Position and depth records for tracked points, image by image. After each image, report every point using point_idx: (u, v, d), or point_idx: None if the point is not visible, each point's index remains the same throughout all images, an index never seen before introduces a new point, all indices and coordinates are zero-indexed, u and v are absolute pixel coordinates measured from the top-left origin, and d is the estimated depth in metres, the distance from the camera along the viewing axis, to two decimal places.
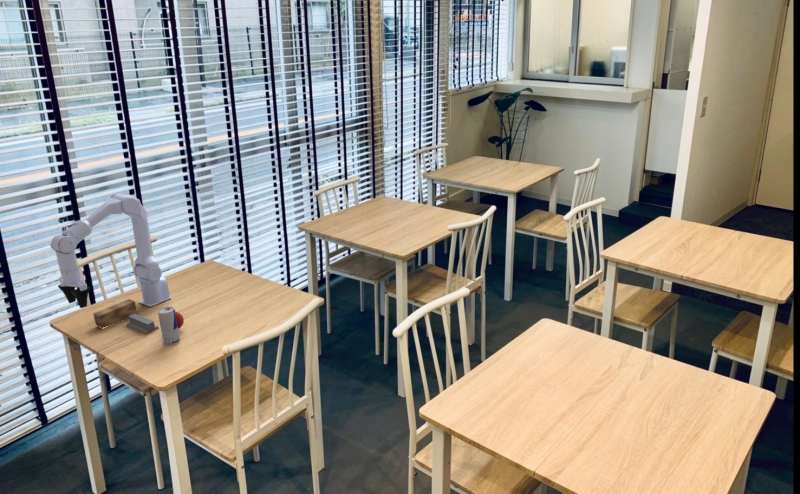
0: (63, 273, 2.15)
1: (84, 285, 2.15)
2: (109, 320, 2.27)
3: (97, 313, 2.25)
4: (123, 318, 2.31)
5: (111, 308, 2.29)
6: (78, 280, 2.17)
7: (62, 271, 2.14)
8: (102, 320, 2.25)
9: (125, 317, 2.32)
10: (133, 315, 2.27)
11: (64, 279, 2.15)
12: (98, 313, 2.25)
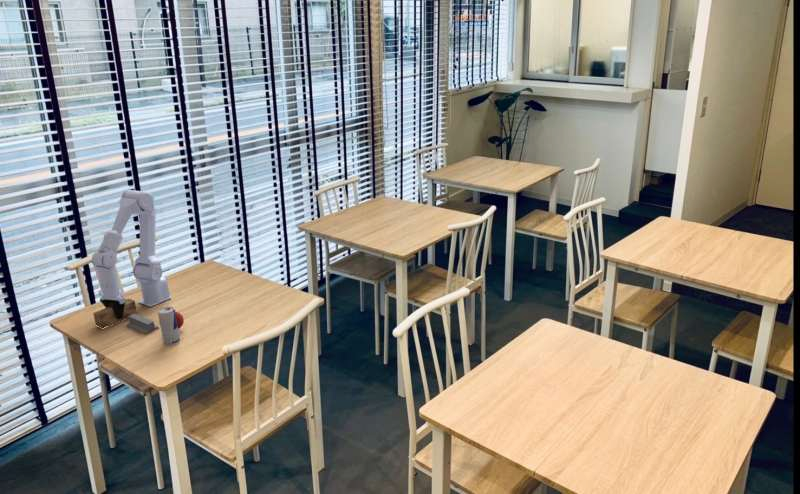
0: (103, 287, 2.24)
1: (124, 298, 2.24)
2: (109, 320, 2.27)
3: (97, 313, 2.25)
4: (123, 318, 2.31)
5: (110, 308, 2.29)
6: (117, 293, 2.27)
7: (102, 285, 2.24)
8: (102, 320, 2.25)
9: (125, 317, 2.32)
10: (133, 315, 2.27)
11: (104, 293, 2.25)
12: (98, 313, 2.25)
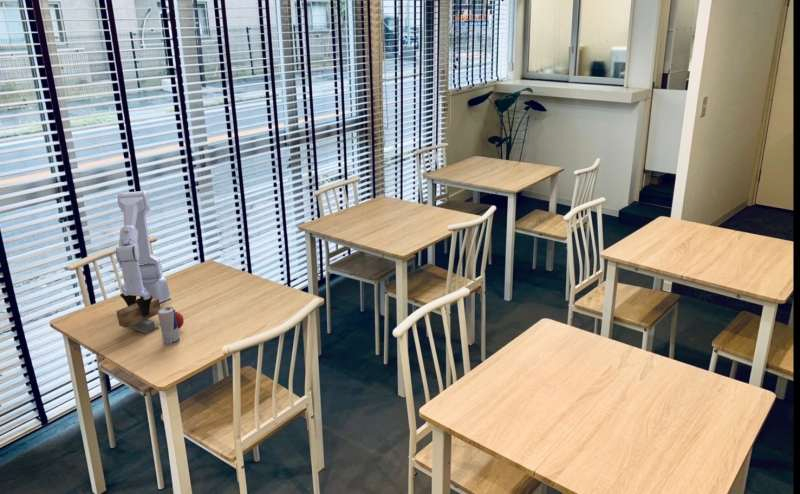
0: (127, 282, 2.17)
1: (148, 294, 2.17)
2: (132, 318, 2.20)
3: (120, 311, 2.18)
4: (146, 316, 2.24)
5: (134, 306, 2.22)
6: (141, 289, 2.20)
7: (126, 280, 2.17)
8: (125, 318, 2.17)
9: (148, 315, 2.25)
10: None
11: (128, 288, 2.18)
12: (121, 311, 2.18)
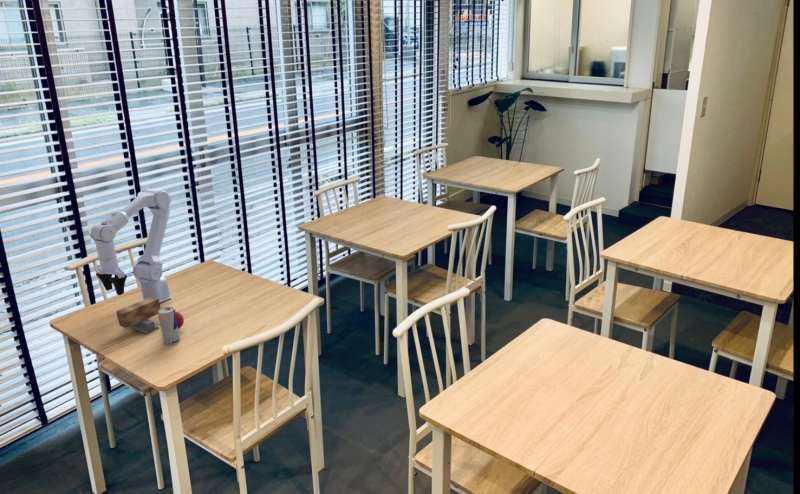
0: (102, 261, 2.23)
1: (122, 273, 2.23)
2: (132, 318, 2.20)
3: (120, 311, 2.18)
4: (146, 316, 2.24)
5: (134, 306, 2.22)
6: (116, 268, 2.26)
7: (101, 259, 2.23)
8: (125, 318, 2.17)
9: (148, 315, 2.25)
10: None
11: (103, 267, 2.24)
12: (121, 311, 2.18)
